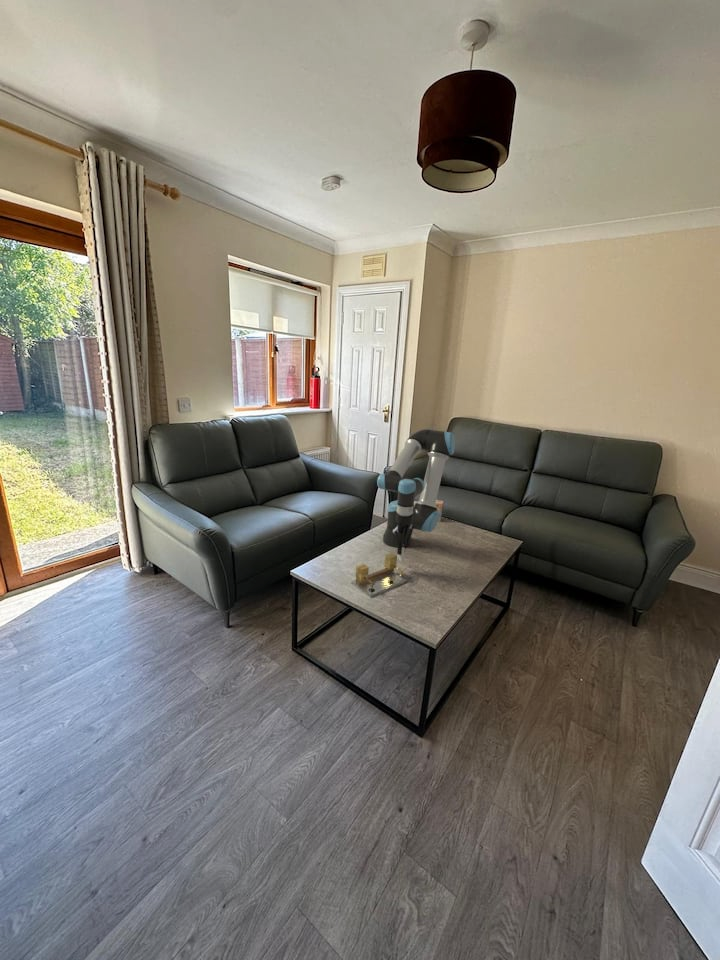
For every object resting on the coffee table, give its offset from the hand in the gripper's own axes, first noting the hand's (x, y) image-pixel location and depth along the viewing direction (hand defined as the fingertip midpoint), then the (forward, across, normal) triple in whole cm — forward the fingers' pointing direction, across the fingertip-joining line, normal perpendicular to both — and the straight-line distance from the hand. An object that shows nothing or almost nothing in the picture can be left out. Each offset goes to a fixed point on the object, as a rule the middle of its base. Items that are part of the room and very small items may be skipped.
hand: (400, 559), depth 183 cm
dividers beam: (+4, -15, -3) cm, 16 cm away
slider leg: (+4, -6, -3) cm, 8 cm away
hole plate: (+5, -16, -3) cm, 17 cm away
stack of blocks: (+5, +60, +38) cm, 71 cm away
